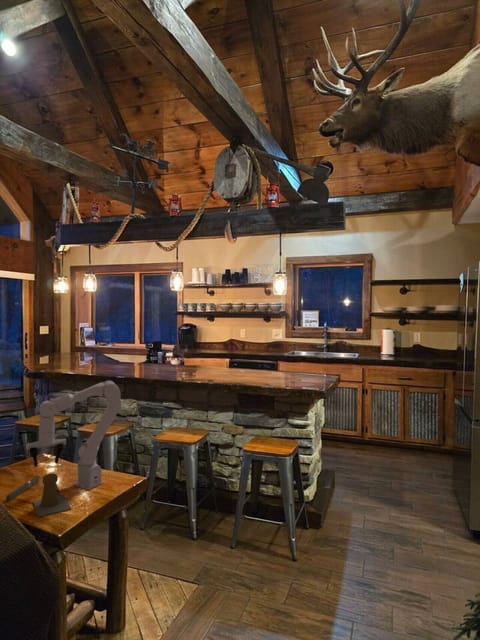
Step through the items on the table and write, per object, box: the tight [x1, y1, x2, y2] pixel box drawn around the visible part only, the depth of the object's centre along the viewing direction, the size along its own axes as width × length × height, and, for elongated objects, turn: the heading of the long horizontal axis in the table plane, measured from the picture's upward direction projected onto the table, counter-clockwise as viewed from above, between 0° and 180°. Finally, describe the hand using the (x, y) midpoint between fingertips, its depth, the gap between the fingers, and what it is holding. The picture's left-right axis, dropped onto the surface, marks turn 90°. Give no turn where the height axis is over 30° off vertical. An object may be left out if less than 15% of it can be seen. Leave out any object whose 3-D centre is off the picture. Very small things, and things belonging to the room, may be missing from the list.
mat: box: [32, 494, 72, 518], centre depth 152 cm, size 13×11×1 cm
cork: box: [40, 472, 59, 508], centre depth 153 cm, size 6×6×11 cm
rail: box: [56, 483, 60, 496], centre depth 166 cm, size 12×1×2 cm, turn 33°
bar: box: [5, 475, 40, 502], centre depth 164 cm, size 19×2×2 cm, turn 173°
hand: (46, 464), depth 165 cm, fingers open, 7 cm apart
